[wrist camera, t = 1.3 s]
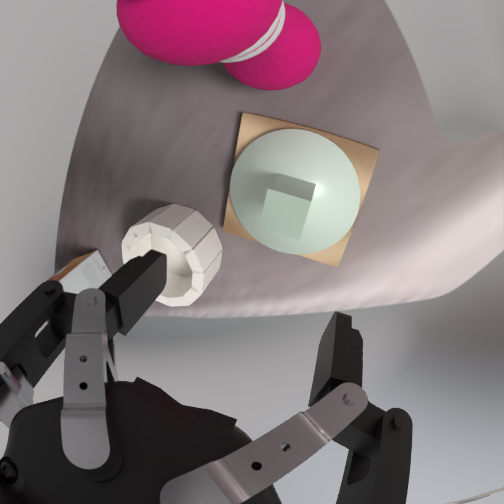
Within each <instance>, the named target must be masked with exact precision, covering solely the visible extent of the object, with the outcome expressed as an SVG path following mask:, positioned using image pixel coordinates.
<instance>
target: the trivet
mask: <svg viewBox="0 0 504 504" xmlns="http://www.w3.org/2000/svg"><path fill="white" fill-rule="evenodd" d="M290 128H295V129H304V130H309V131H313V132H315V133H318V134H321V135H323V136H325V137H326V138H328V139H330V140H331V141H333V142H334V143H335V144H336V145H338V146H339V147H340V148H341V149H342V150H343V151H344V153H345V154H346V155H347V156H348V158H349V159H350V161H351V162H352V164H353V166H354V169H355V171H356V174H357V177H358V180H359V186H360V206H359V210H358V213H359V211H360V208H361V205H362V202H363V199H364V197H365V194H366V191H367V188H368V185H369V182H370V179H371V176H372V173H373V170H374V167H375V164H376V161H377V158H378V154H379V149H377V148H374V147H371V146H369V145H366V144H363V143H360V142H357V141H354V140H351V139H348V138H345V137H342V136H339V135H335V134H332V133H329V132H325V131H322V130H319V129H315V128H311V127H308V126H304V125H300V124H296V123H293V122H288V121H284V120H280V119H276V118H272V117H267V116H262V115H258V114H253V113H248V112H244V113H243V114H242V120H241V125H240V131H239V136H238V142H237V147H236V153H235V159H234V164H233V168H234V166H235V163H236V161H237V159H238V158H239V156H240V155H241V153H242V152H243V151H244V149H245V148H247V147H248V146H249V145H250V144H251V143H252V142H253V141H255V140H256V139H258V138H260V137H261V136H263V135H265V134H268V133H270V132H273V131H276V130H281V129H290ZM232 171H233V170H232ZM357 216H358V214H357ZM356 219H357V217H356ZM356 219H355V221H356ZM355 221H354V223H353V225H352V227H351V228H350V230H349V231H348V232H347V233H346V234H345V236H344V237H343V238H341V239H340V240H339V241H338V242H337V243H335V244H334V245H332V246H330V247H328V248H326V249H324V250H321V251H319V252H315V253H310V254H297V255H300V256H303V257H306V258H309V259H313V260H316V261H319V262H322V263H325V264H328V265H331V266H334V267H338V264H339V262H340V259H341V257H342V255H343V252H344V250H345V247H346V245H347V242H348V240H349V237H350V234H351V232H352V229H353V227H354V224H355ZM223 232H227V233H230V234H233V235H236V236H239V237H243V238H246V239H249V240H252V241H256V242H259V241H257V240H256V239H255V238H254V237H253V236H251V235H250V234H249V232H248V231H247V230H246V229H245V228H244V227H243V225H242V224H241V223H240V221H239V219H238V217H237V216H236V213H235V211H234V208H233V205H232V202H231V196H230V188H229V194H228V200H227V207H226V213H225V219H224V226H223ZM259 243H261V242H259Z"/></svg>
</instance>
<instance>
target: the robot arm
mask: <svg viewBox="0 0 504 504" xmlns="http://www.w3.org/2000/svg"><path fill="white" fill-rule="evenodd" d="M166 282H167V255H166V254H164V253H161V252H159V251H156V250H153V249H151V250H149V251H148V252H147V253H146V254H145V255H144V256H137V257H135V258H132V259H130V260H129V261H128V262H126V263H125V264H124V265H123V267H121V268H120V269H119V270H118V271H117V272H115V273H114V274H113V275H112V276H111V277H110V278H109V279H107V280H106V281H105V282H104V283H103V284H102V285H101V286H100V287H99V288H98V289H96V288H88V289H85V290H82V291H81V292H79V293H78V294H75V293H70V292H65V291H64V289H63V286H62V284H61V283H60V282H59V281H56V280H49V281H46V282H44V283H42V284H41V285H40V286H38V287H37V288H36V289H35V290H34V291H33V292H32V293H31V294H30V295H29V296H28V297H27V298H26V299H25V300H24V301H23V302H22V303H21V304H20V305H19V306H18V307H16V309H15V310H14V311H12V313H11V314H10V315H9V316H8V317H7V318H6V319H5V320H4V321H3V322H2V323H1V324H0V421H2V422H3V423H4V424H5V425H6V426H7V427H8V428H9V437H8V443H7V447H6V450H5V453H4V455H3V457H2V459H1V460H0V504H282V503H281V501H280V499H279V497H278V494H277V492H276V490H275V488H274V486H273V483H275V482H276V481H278V480H279V479H280V478H282V477H283V476H285V475H286V474H288V473H289V472H290V471H292V470H293V469H295V468H296V467H297V466H299V465H300V464H302V463H303V462H304V461H306V460H307V459H308V458H310V457H311V456H312V455H313V454H315V453H316V452H317V451H318V450H319V449H321V448H322V447H323V446H325V445H326V444H327V443H328V442H329V441H330V440H333V441H335V442H337V443H339V444H340V445H342V446H345V447H346V448H348V449H349V451H348V457H347V461H346V466H345V470H344V475H343V479H342V483H341V487H340V491H339V495H338V498H337V502H336V504H406V498H407V490H408V482H409V474H410V463H411V449H412V426H413V425H412V420H411V417H410V416H409V414H408V413H407V412H406V411H404V410H402V409H400V408H392V409H389V410H388V411H387V412H385V411H384V410H382V409H380V408H378V407H376V406H375V405H373V404H371V403H370V402H369V401H368V397H367V395H366V392H365V391H364V390H363V389H362V370H363V369H362V368H363V359H362V357H363V351H362V350H363V339H362V337H361V335H360V333H359V330H356V329H352V317H351V316H350V315H346V314H343V313H340V312H336V311H335V312H334V314H333V316H332V318H331V320H330V322H329V324H328V326H327V328H326V329H325V331H324V333H323V335H322V338H321V341H320V344H319V349H318V355H317V361H316V367H315V374H314V378H313V384H312V389H311V395H310V400H309V404H308V406H309V407H310V408H309V409H307V410H306V411H304V412H299V413H297V414H296V415H294V416H292V417H291V418H290V419H288V420H286V421H285V422H283V423H282V424H280V425H279V426H277V427H276V428H274V429H272V430H271V431H269V432H268V433H266V434H264V435H263V436H261V437H259V438H258V439H256V440H254V441H252V440H251V438H250V437H249V436H248V435H247V434H246V433H245V432H243V431H242V430H241V429H240V428H238V427H236V426H235V423H236V421H237V419H234V418H232V417H229V416H226V415H223V414H221V413H218V412H215V411H213V410H208V409H201V408H196V407H190V406H185V405H182V404H180V403H178V402H177V401H176V400H174V399H173V398H172V397H171V396H169V395H168V394H167V393H166V392H164V391H163V390H162V389H161V388H159V387H157V386H155V385H153V384H150V383H149V382H146V381H145V380H143V379H141V378H139V377H137V378H136V379H135V381H134V382H127V381H119V380H118V376H117V370H116V357H115V340H114V335H115V334H116V333H117V332H119V333H121V334H123V335H125V336H126V335H127V333H128V332H129V331H130V330H131V328H132V327H133V326H134V325H135V324H136V322H137V321H138V320H139V319H140V318H141V316H142V315H143V314H144V313H145V312H146V310H147V309H148V308H149V307H150V306H151V304H152V303H153V302H154V301H155V300H156V299H157V297H158V296H159V295H160V294H161V293H162V291H163V290H164V288H165V285H166ZM46 321H47V322H48V324H47V325H46V326H45V328H44V329H43V330H42V331H41V332H40V333H39V334H38V336H37V337H36V338H35V334H36V332H37V331H38V329H39V328H40V327H41V326H42V325H43V324H44V323H45V322H46ZM64 348H65V361H64V396H63V397H59V398H55V399H52V400H48V401H44V402H41V403H37V404H33V394H34V391H33V388H34V387H35V386H36V384H37V383H38V381H39V380H40V379H41V377H42V376H43V375H44V374H45V372H46V371H47V369H48V368H49V367H50V366H51V364H52V363H53V362H54V360H55V359H56V358H57V357H58V355H59V354H60V353H61V352H62V350H63V349H64Z"/></svg>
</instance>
